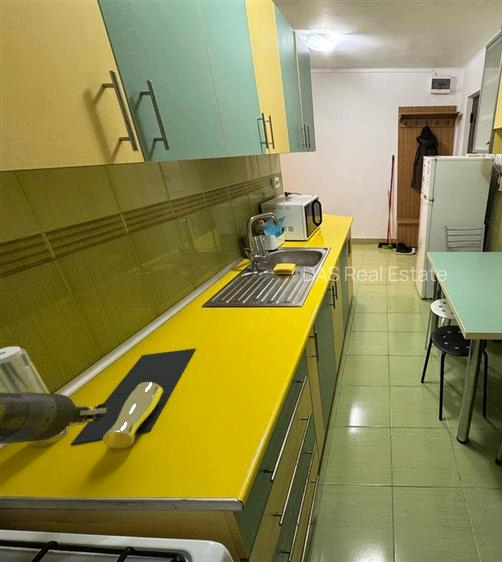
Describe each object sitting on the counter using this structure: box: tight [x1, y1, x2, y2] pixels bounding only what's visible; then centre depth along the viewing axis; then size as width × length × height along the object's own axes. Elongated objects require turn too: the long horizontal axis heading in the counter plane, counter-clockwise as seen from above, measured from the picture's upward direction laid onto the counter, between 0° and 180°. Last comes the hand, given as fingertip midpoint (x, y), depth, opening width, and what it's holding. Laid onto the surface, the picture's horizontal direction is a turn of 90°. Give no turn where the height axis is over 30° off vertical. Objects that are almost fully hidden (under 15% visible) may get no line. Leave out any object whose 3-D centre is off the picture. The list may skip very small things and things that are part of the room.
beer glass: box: [102, 382, 163, 450], centre depth 77 cm, size 7×7×15 cm
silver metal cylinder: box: [0, 346, 70, 449], centre depth 70 cm, size 6×6×25 cm
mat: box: [70, 347, 197, 446], centre depth 90 cm, size 17×36×1 cm, turn 13°
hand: (99, 415), depth 66 cm, fingers closed
